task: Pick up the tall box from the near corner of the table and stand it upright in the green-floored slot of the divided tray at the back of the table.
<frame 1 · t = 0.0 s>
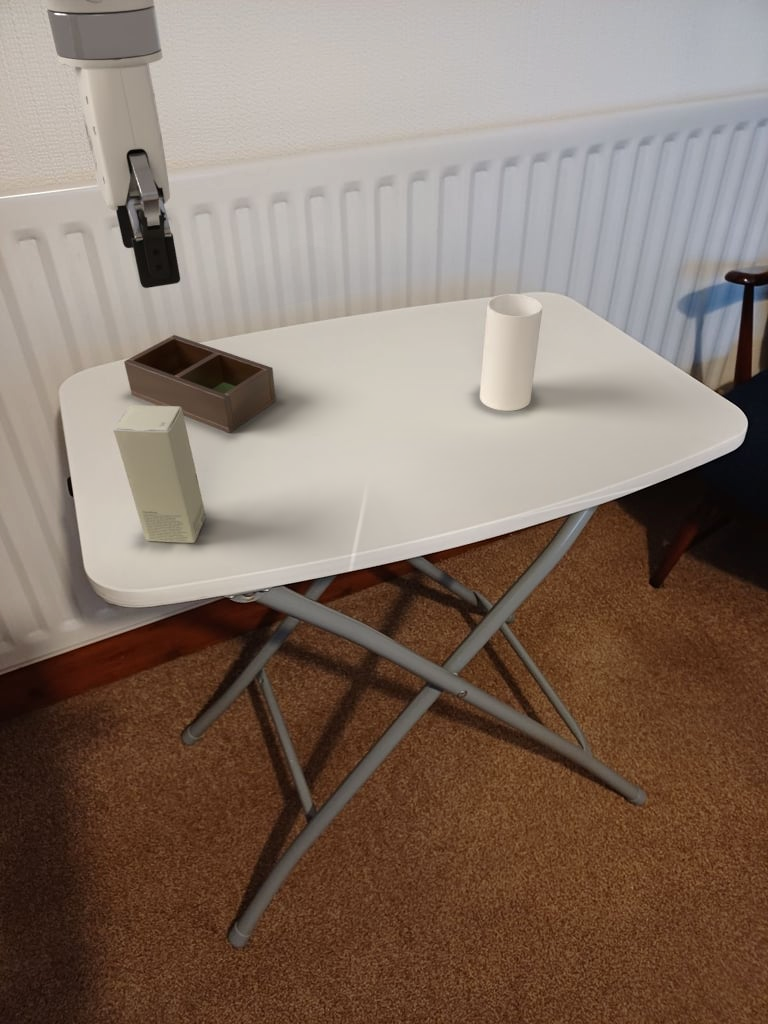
hand: (151, 263, 69), 23 cm above the table, tool pointing down, fingers open, 9 cm apart
box: (175, 530, 77), on the table
divided tray: (203, 398, 96), on the table
cup: (504, 399, 96), on the table
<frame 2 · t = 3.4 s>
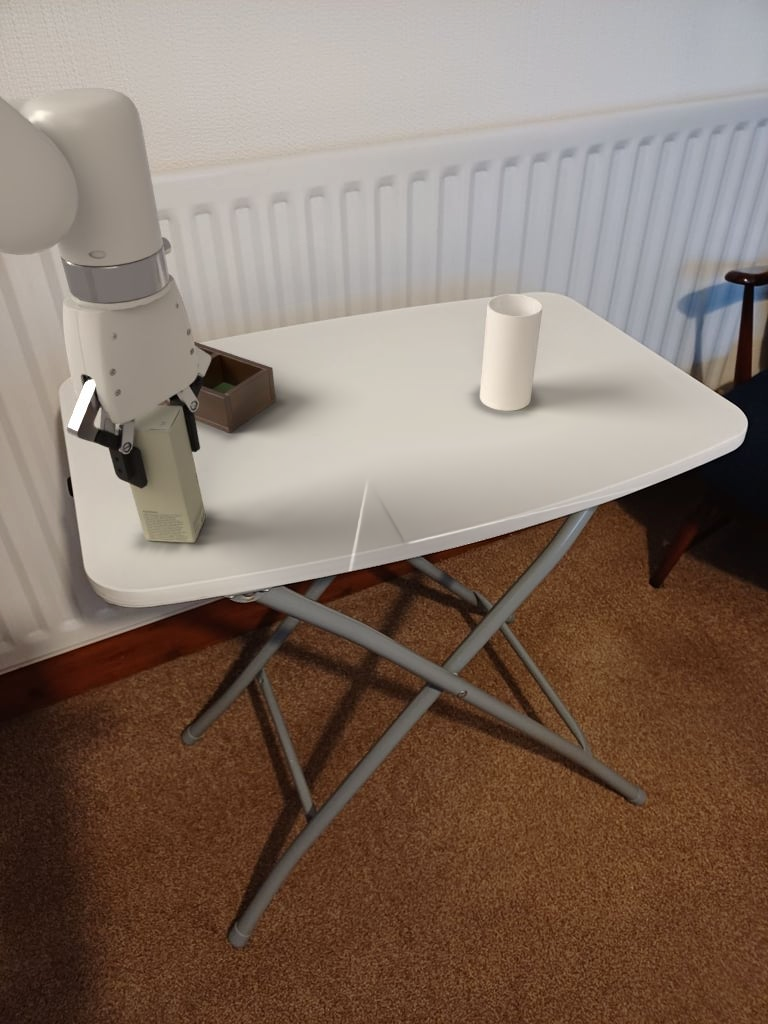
hand: (160, 462, 71), 8 cm above the table, tool pointing down, fingers closed on box, 5 cm apart
box: (175, 530, 77), on the table, touching gripper
everything else where it was.
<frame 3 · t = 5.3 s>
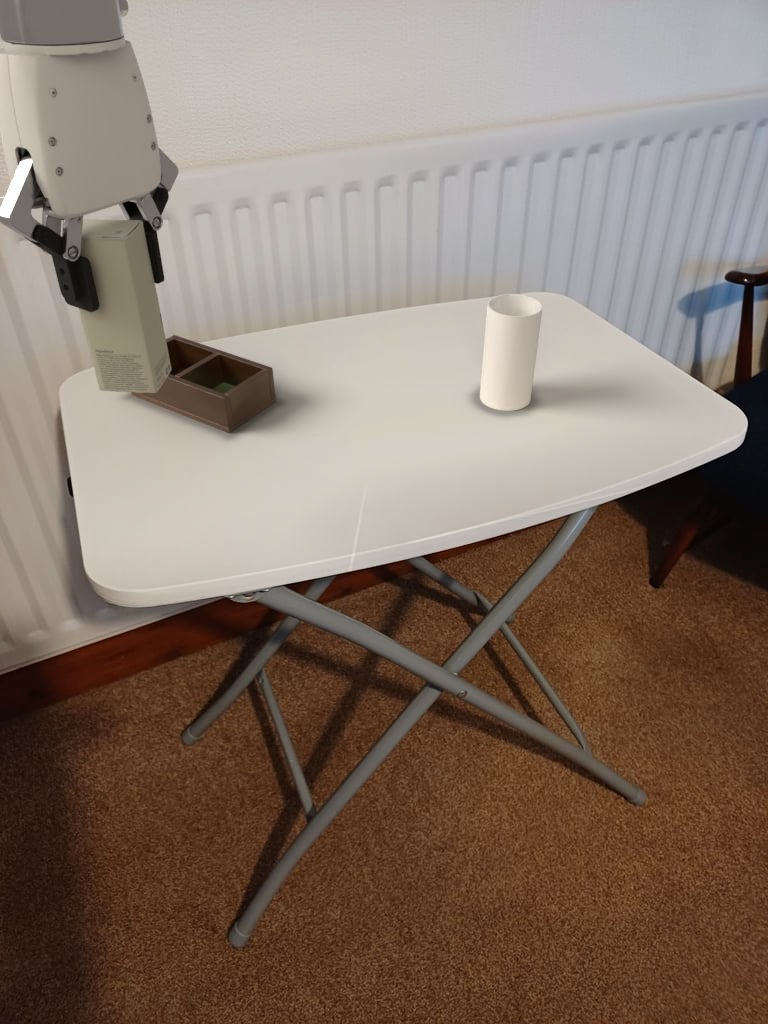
hand: (116, 290, 61), 24 cm above the table, tool pointing down, fingers closed on box, 5 cm apart
box: (135, 384, 66), point 16 cm above the table, touching gripper
everything else where it was.
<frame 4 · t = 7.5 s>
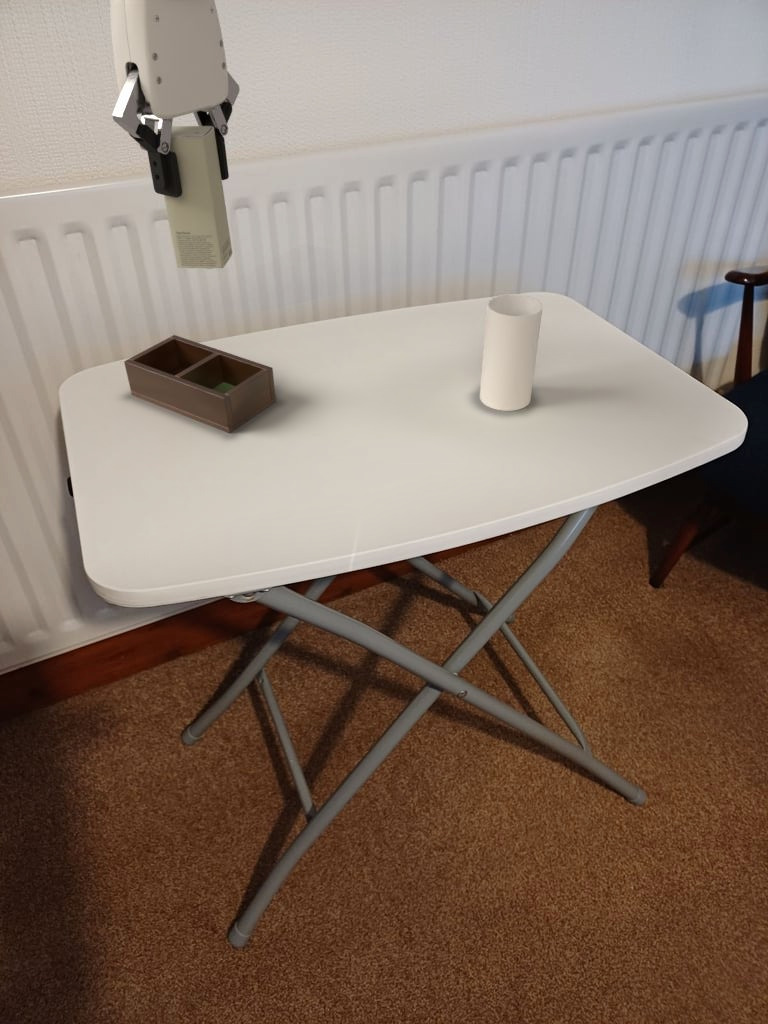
hand: (192, 184, 78), 26 cm above the table, tool pointing down, fingers closed on box, 5 cm apart
box: (204, 264, 83), point 18 cm above the table, touching gripper
everything else where it was.
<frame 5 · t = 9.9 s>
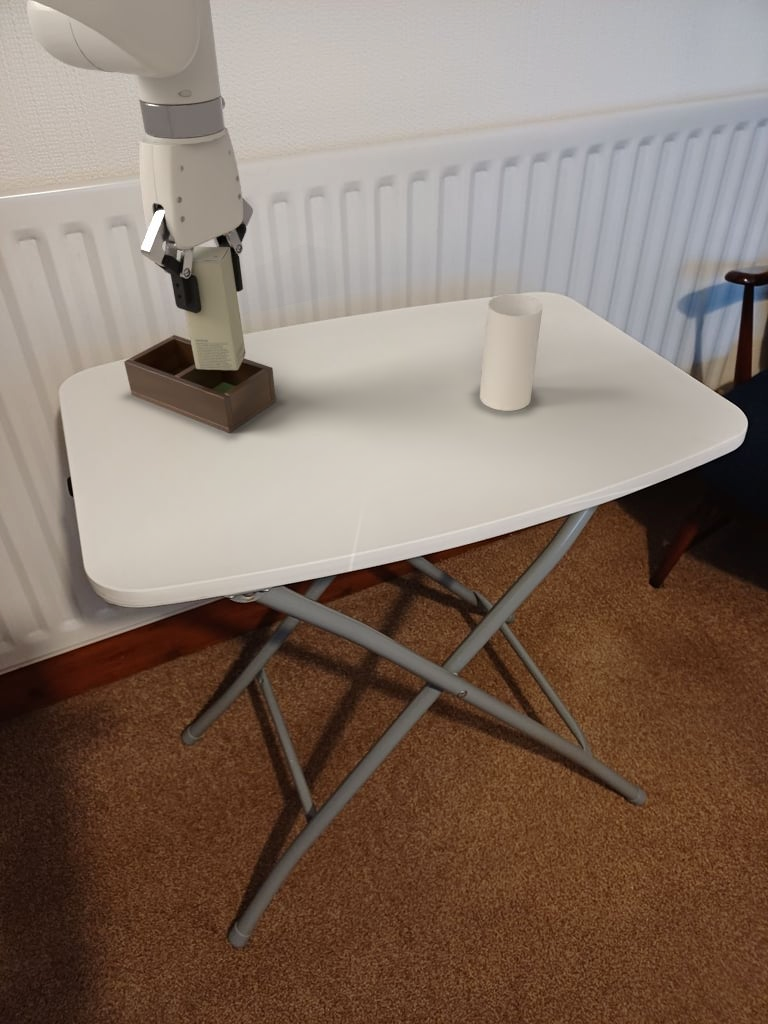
hand: (210, 297, 86), 14 cm above the table, tool pointing down, fingers closed on box, 5 cm apart
box: (220, 364, 91), point 6 cm above the table, touching gripper
everything else where it was.
when the fingers open (9 cm above the table, at t = 11.7 s): box stays where it is, resting on divided tray.
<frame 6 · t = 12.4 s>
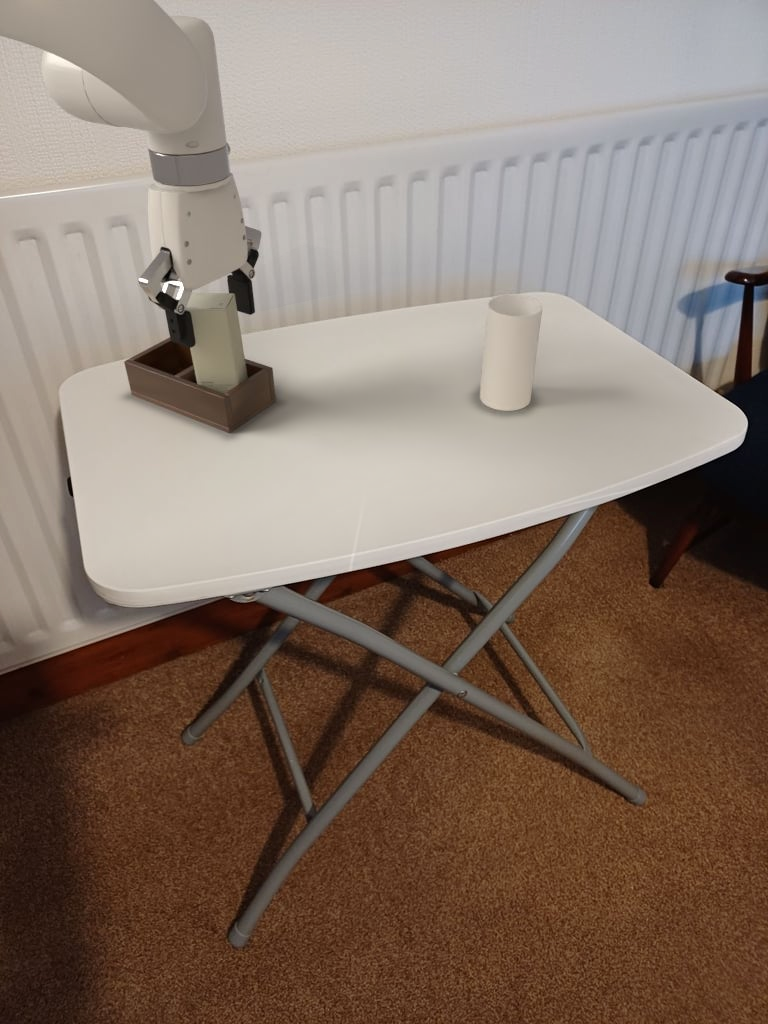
hand: (214, 327, 88), 10 cm above the table, tool pointing down, fingers open, 9 cm apart
box: (225, 403, 94), point 1 cm above the table, touching divided tray
everything else where it was.
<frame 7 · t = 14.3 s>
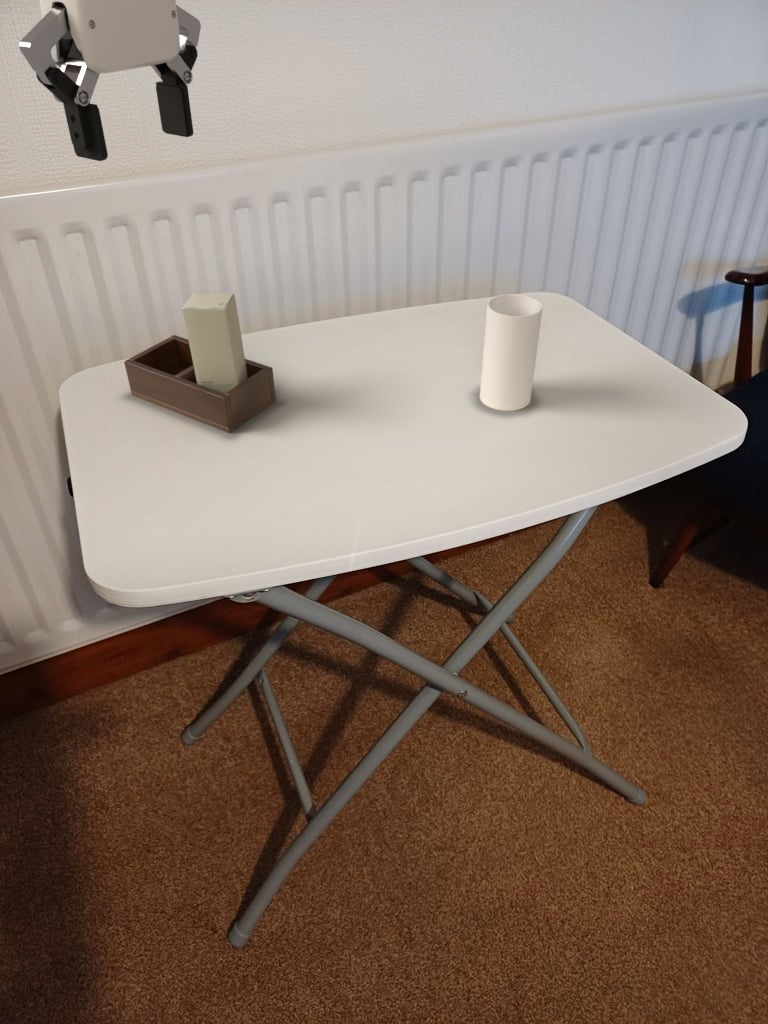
hand: (137, 145, 66), 32 cm above the table, tool pointing down, fingers open, 9 cm apart
nothing on the table moved.
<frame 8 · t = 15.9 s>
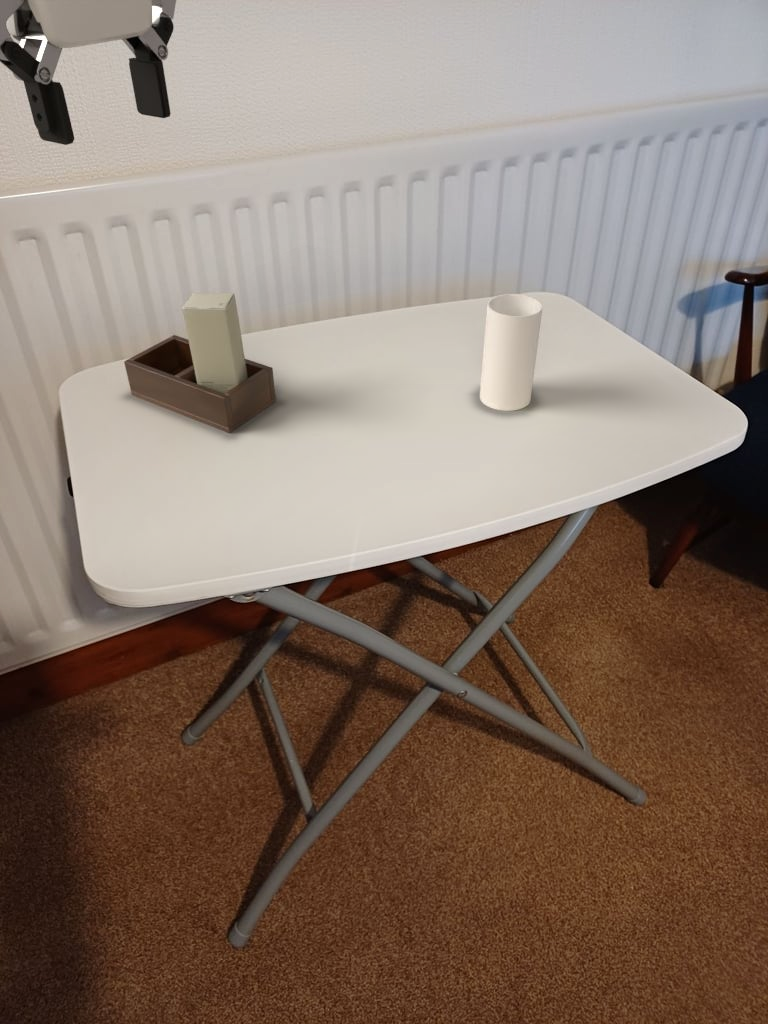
hand: (108, 127, 61), 34 cm above the table, tool pointing down, fingers open, 9 cm apart
nothing on the table moved.
at the end: box 0.1 cm from the target spot in the divided tray, point 0.6 cm above the divided tray's base; box tilted 0°; the gripper is holding nothing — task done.
